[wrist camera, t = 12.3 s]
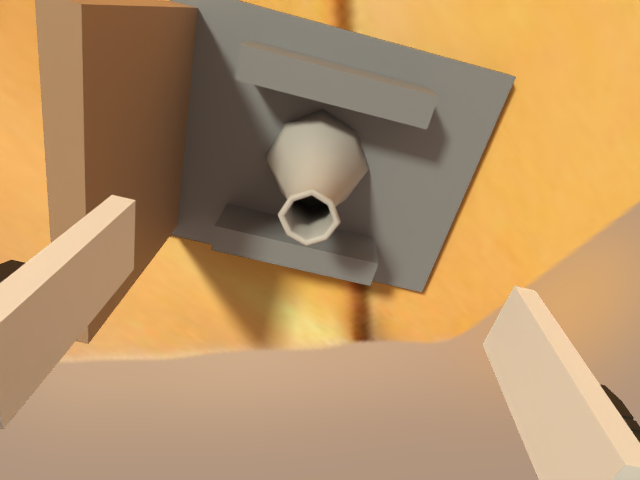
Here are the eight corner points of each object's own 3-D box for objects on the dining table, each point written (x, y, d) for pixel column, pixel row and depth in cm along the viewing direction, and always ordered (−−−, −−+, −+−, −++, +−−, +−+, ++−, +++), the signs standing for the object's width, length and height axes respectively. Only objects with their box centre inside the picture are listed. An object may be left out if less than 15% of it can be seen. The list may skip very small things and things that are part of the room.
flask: (385, 170, 32) (403, 230, 23) (310, 223, 34) (300, 297, 25) (325, 90, 29) (320, 123, 20) (248, 153, 32) (213, 207, 23)
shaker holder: (510, 74, 29) (651, 126, 16) (419, 285, 38) (463, 433, 24) (176, -17, 28) (26, -44, 14) (159, 225, 36) (54, 350, 23)
